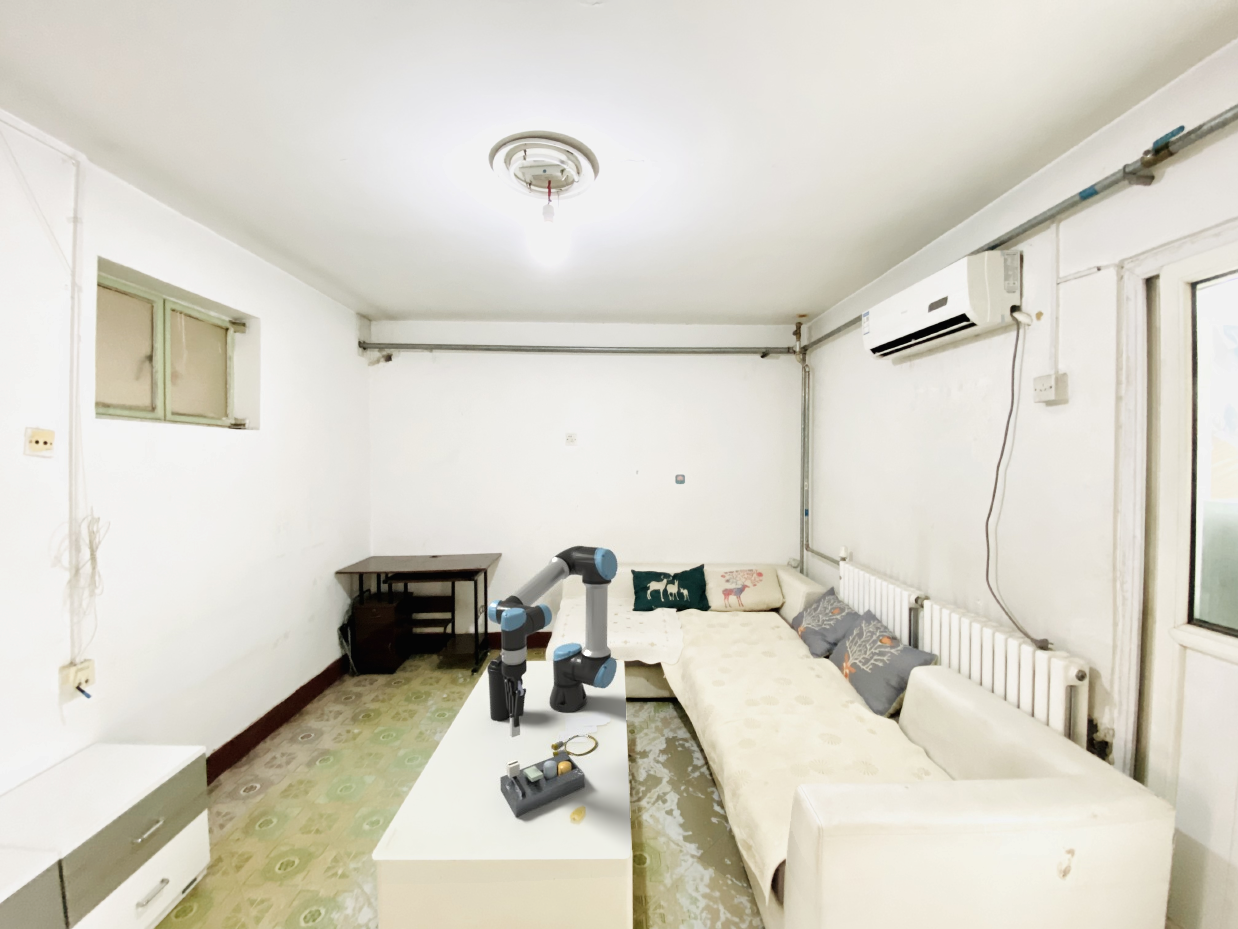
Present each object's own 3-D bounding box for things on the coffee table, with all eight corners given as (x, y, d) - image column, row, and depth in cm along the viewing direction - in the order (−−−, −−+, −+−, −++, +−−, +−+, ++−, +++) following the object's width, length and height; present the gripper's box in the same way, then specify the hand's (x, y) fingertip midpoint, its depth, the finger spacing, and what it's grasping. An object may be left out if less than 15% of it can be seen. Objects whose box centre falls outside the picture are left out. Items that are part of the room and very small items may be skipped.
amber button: (567, 772, 152) (567, 759, 152) (573, 779, 149) (573, 766, 149) (556, 777, 150) (556, 764, 150) (562, 784, 147) (561, 771, 146)
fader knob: (516, 769, 146) (516, 758, 146) (519, 774, 144) (519, 763, 144) (506, 773, 144) (506, 762, 144) (509, 778, 142) (509, 767, 142)
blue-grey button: (553, 772, 149) (553, 759, 149) (558, 779, 146) (558, 766, 146) (541, 777, 147) (541, 763, 147) (546, 784, 144) (546, 770, 144)
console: (565, 764, 157) (565, 748, 157) (584, 787, 146) (584, 770, 146) (500, 790, 145) (500, 773, 145) (515, 817, 134) (515, 799, 134)
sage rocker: (534, 769, 147) (534, 765, 148) (543, 777, 142) (543, 773, 142) (523, 773, 145) (523, 770, 146) (532, 782, 140) (531, 778, 140)
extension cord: (553, 737, 172) (553, 732, 172) (597, 736, 173) (597, 731, 173) (549, 759, 160) (549, 753, 160) (596, 758, 160) (596, 752, 160)
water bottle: (520, 711, 189) (519, 654, 189) (503, 725, 180) (502, 664, 179) (499, 706, 193) (498, 650, 193) (482, 718, 184) (481, 660, 184)
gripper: (495, 655, 151) (496, 729, 152) (510, 671, 141) (511, 750, 141) (517, 650, 156) (518, 721, 156) (533, 664, 145) (534, 741, 145)
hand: (515, 735), depth 148 cm, fingers closed
